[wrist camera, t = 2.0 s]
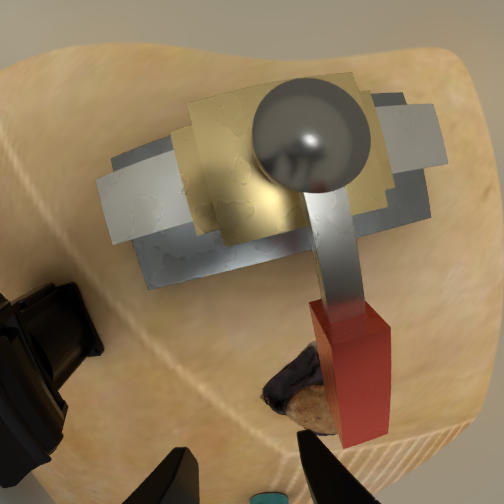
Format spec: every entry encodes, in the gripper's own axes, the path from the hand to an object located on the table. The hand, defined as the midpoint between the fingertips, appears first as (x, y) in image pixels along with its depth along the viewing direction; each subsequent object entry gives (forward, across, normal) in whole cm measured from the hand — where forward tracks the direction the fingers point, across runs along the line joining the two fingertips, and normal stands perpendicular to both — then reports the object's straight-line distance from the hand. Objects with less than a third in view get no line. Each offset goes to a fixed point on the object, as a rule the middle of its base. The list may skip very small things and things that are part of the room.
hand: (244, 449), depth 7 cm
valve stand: (+13, -4, -8) cm, 16 cm away
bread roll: (+14, -4, +11) cm, 18 cm away
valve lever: (+4, -4, -4) cm, 7 cm away
